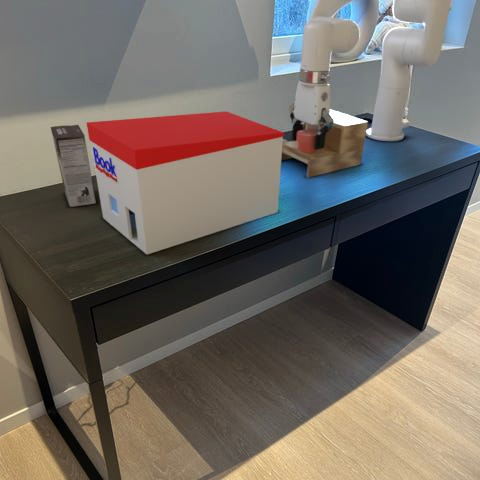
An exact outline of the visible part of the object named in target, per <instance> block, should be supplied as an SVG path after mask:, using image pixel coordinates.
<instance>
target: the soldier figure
mask: <svg viewBox="0 0 480 480" xmlns="http://www.w3.org/2000/svg"><path fill="white" fill-rule="evenodd" d="M276 130H278V131H281V130H280V128H278V129H276ZM290 142H294V140H290V141H288V140H286V139H284V138H283V141H282V143H283V144H285V143H290Z"/></svg>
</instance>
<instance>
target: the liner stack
mask: <svg viewBox="0 0 480 480" xmlns="http://www.w3.org/2000/svg"><path fill="white" fill-rule="evenodd" d="M316 134H317V131H314V130H300V131H298V132H297V139H296V140H295V141H297V142H298V148H297V150H299V151H301V152H304V153H312V152H315V151H316V150H315V149H314V145H315V136H316Z"/></svg>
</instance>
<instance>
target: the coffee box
mask: <svg viewBox="0 0 480 480" xmlns="http://www.w3.org/2000/svg"><path fill="white" fill-rule="evenodd" d="M50 131H51V134H52V140H53V144H54V149H55V154H56V159H57V163H58V167H59V172H60V177H61V181H62V186H63V190H64V192H65V193H64V194H65V197H66V200H67V203H68V206H69V207H71V208H72V207H79V206H86V205H87V206H88V205H93V204H96V203H97V201H96V195H95V190H94V189H95V188H94V183H93V177H92V171H91V170H92V169H91V164H90V158H89V153H88V146H87V141H86V135H85V133H84V132H83V130H82V128H81V127H80V125H79V124H73V125H55V126H50Z"/></svg>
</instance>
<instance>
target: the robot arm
mask: <svg viewBox="0 0 480 480" xmlns="http://www.w3.org/2000/svg"><path fill="white" fill-rule="evenodd" d="M355 1H357V0H317V1H316V4H315V5H314V8H313V10H312V12H311V14H310V17H309V18H308V21H307V22H305V24H304V26H303V30H302V42H301V55H300V68H299V80H298V83H297V87H296V90H295V91H296V92H295V96H294V97H295V98H294V103H292V104H290V105H289V106H288V110H289V117H290V119H291V126H292V131H291V141H296V139H297V132H298V131H300V130H302V128H303V124H304V123H307V124H310V125H313V126H315V128H316V131H317V134H316V136H315V145H314V149H315V150H318V149H322V148H324V145H325V137H326V134H327V133H328V131H329V130H330V129H331V126H332V124H333V123H334V119H333V118H332V117H331V115H330V109H331V98H332V97H331V94H332V93H331V85H330V83H329V81H330V79H331V77H330V71H331V70H330V69H331V62H332V61H331V60H332V54H347V53H349V52H352V51H353V50H354V49H355V48H356V46H357V45H358V43H359V41H360V37H361V29H360V27H359V25H358V24H357V22H355V21H354V20H352V19H348V18H340V17H334V16H335V15H336V14H337V13H338V12H339V11H340V10H341V9H342V8H344V7H345V6H347V5H349V4H351V3H353V2H355ZM450 8H451V0H393V2H392V17H393V18H394V20H396V21H398V22H401V23H406V24H407V23H408V24H415V25H423V29H422V28H417V27H407V26H396V27H393V28H391V29H389V30H388V31H387V32H386V34H385V35H384V37H383V39H382V44H381V68H380V75H379V82H378V87H377V94H376V98H375V103H374V104H375V105H374V109H373V110H374V111H373V116H372V120H371V121H372V123H371V127H370V128H367V130H366V136H365V137H368V138H370V139H372V140H376V141H379V142H398V141H401V140H403V139H404V137H405V133H404V132H403V130H404V129H406V128H409V127H410V125H411V123H410V121H409V120H407V121H403V120H404V115H405V110H406V106H407V100H408V95H409V91H410V86H411V81H412V79H411V78H412V77H411V76H412V75H411V72H410V68H409V66H414V67H420V68H431V67H432V66H434V65H435V64H436V63H437V61H438V59H439V57H440V54H441V52H442V49H443V44H444V39H445V33H446V29H447V24H448V19H449V13H450ZM320 126H322V129H321V128H320Z"/></svg>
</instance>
